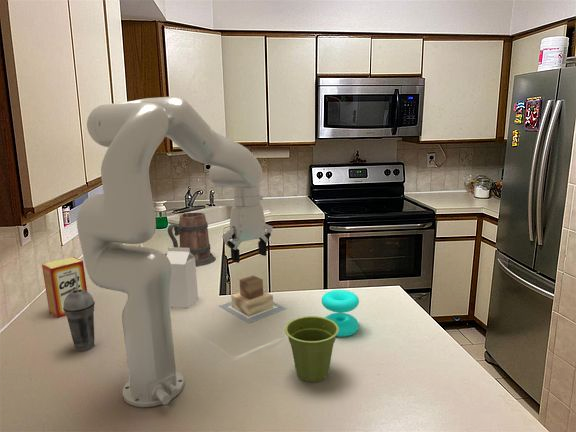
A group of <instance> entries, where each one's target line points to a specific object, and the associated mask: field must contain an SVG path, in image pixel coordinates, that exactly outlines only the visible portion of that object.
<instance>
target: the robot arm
mask: <svg viewBox="0 0 576 432" xmlns="http://www.w3.org/2000/svg"><path fill="white" fill-rule="evenodd" d="M86 129H87V132H88V134H89V136H90V138H91V139H92V140H93V141H94V142H95V143H96V144H98V145H100V146H102V147H105V148H107V150H106V151H105V153H104V156H103V159H102V162H101V167H100V175H101V177H100V178H101V184H102V191H103V193H98V194H93V195H91V196H89V197H87V198H86V199H84V201H82V203H81V205H80V206H79V208H78V212H77V216H76V229H77V234H78V239H79V244H80V248H81V252H82V256H83V260H84V261H83V262H84V266H85V268H86V272H87V274H88V275H87V276H88V277H89V279H90V281H91V282H92V283H93V284H94V285H96V286H97V287H99V288H101V289H106V290H110V291H115V292H120V293H124V294H126V295H127V301H126V303H125V305H124V307H123V309H122V312H121V322H122V323H121V324H122V329H123V336H124V337H123V338H124V345H125V353H126V356H125V357H126V363H127V372H128V378H129V379H128V381H127V382H126V383H125V384H124V386H123V388H122V396H123V400H124V401H125V402H126V403H127V404H128V405H131V406H133V407H136V408H152V407H156V406H160V405H163V406H165V405H168V404H169V403H170V402H171V400H173V399H174V398H177V396H178V395H179V394H180V393H181V392H182V391H183V389H184V387H185V377H184V375H183V374H182V373H181V372H180V371H178V370H176V368H177V367H176V360H175V359H176V358H175V348H174V337H173V329H172V328H173V326H172V316H171V307H170V299H169V295H170V282H171V274H172V268H171V263H170V261H169V259H168V257H167V256H166V255H165V254H166V253H164V252H162V251H160V250H158V249H155V248H151V247H145V246H137V244H144V243H146V242H148V241H150V240H151V239H152V238H153V237H154V235H155V233H156V230H157V229H156V228H157V222H156V220H157V219H156V214H155V213H156V212H155V205H154V201H153V195H152V194H153V193H152V187H151V183H150V182H151V181H150V165H151V162H152V159H153V156H154V154H155V153H156V150H157V149H158V148H159V146H160V145H161V143H162V142H163V141H164V140H165V138H168V139H170V140H171V141H172V142H173V143H174V144H175V145H176V146H177V147H178V148H179V149H180V150H182V151H183V152H184V153H185V154H186V155H187V156H188V157H189V158H191V160H193V161H196V162H199V163H202V164H205V165H209V166H210V168H209V171H208V177H209V179H210V181H211V183H212V184H213V185H215V186H217V187H220V188H233V202H234V205H233V206H232V207H231V210H230V216H229V217H230V218H229V230H227V231H226V232H225V233H224V234H223V235H222V236H221V237H222V240H223V242H224V243H225V245H226V246H227V247H228V248H230V259H231V260H232V262H234V263H237V264H238V263H239V264H240V261H241V259H240V258H241V257H240V249H239V247H240V245H241V243H243V242H249V241H254V240H257V239H258V240H259V241H258V243H257V245H258V250H257V251H258V255H261V256H263V257H266V256H267V248H268V247H267V243H268V242H269V239H270V237H271V235H272V232H273V226H272V225H270V224H267V223H266V220H265V213H264V209H263V208H264V207H263V205H262V204H261V201H262V200H263V199H264V197H263V195H261V188H260V187H261V182H262V180H263V168H262V166H261V164H260V162H259V160H258V159H257V157H255V155H254V154H253V153H252V152H251V151H250V150H249V148H247V147H246V146H244V145H243V144H241V143H238V142H236V141H234V140H232V139H231V138H228V137H226V136H224V135H222V134H220V133H218V132H216V131H215V130H214V129H213V128H212V127H211V126H210V124H208V123H207V122H206V121H205V120H204V118H203V117H202V115H200V114H199V113H198V112H197V110H195V108H194V107H193V106H192V105H191V104H190V103H189V102H188V101H187V100H185V99H183V98H182V97H179V96H162V97H161V96H159V97H147V98H141V99H135V100H129V101H128V100H127V101H123V102H115V103H107V104H101V105H98V106H96V107H94V108H93V109H92V110H91V111H90V113H89V115H88V117H87V121H86ZM126 244H127V245H126ZM128 244H129V245H128ZM130 244H132V245H130ZM135 244H136V245H135Z"/></svg>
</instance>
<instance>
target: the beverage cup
mask: <svg viewBox="0 0 576 432" xmlns="http://www.w3.org/2000/svg"><path fill="white" fill-rule="evenodd" d="M75 281H76V290H74V291H72V292H71V293H69V294H68V295H67V297H66V298H65V300H64V308H63V310H64V312H65V315H66V316H65V317H66V318H67V323H68V327H69V330H70V331H69V332H70V334H71V338H72V343H73V345H74V348H75V351H76V352H86V351H89V350H91V349H93V348H95V316H94V312H95V301H94V297H93V295H92V294H91V293H90V292H89V291H88V290H87V291H85V290H79V287H78V278H77V272H76V273H75Z"/></svg>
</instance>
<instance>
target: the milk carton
mask: <svg viewBox="0 0 576 432" xmlns="http://www.w3.org/2000/svg"><path fill="white" fill-rule="evenodd" d="M167 257H168V259H169V261H170V263H171V268H172V274H171V282H170V295H169V299H170V308H176V309H177V308H178V309H190V308H191V307H192V306H193V305H194V304H195V303H196V302H197V301H198V300H199V293H198V291H199V289H198V280H197V267H196V264H195V257H194V256H193V254H192V253H191V252H190V249H189V248H179V247H178V248H174V247H167Z"/></svg>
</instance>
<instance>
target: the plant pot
mask: <svg viewBox="0 0 576 432" xmlns="http://www.w3.org/2000/svg"><path fill="white" fill-rule="evenodd" d="M284 332H285V334H286V335H287V337H288V342H289V343H290V347H291V352H292V357H293V362H294V367H295V371H296V372H295V373H296V375H297V377H298V378H299V379H300V380H302V381H308V382H309V383H318V382H321V381H324V380H325V379H326V378H327V377H328V375H329V372H330V365H331V360H332V354H333V349H334V344H335V342H336V337H337V336H336V335H337V334H338V332H339V327H338V325H337V324H336V323H335V322H334V321H332V320H330V319H327V318H325V317H323V316H319V315H318V316H316V315H305V316H301V317H296V318H294V319H292V320H290V321H288V323H286V325H285V326H284Z"/></svg>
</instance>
